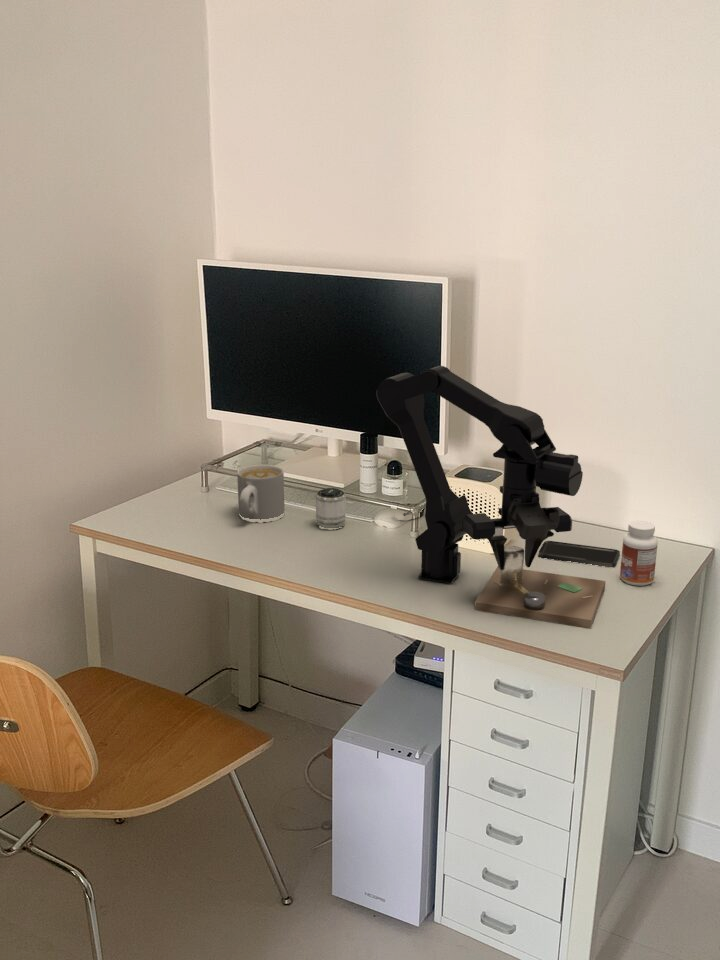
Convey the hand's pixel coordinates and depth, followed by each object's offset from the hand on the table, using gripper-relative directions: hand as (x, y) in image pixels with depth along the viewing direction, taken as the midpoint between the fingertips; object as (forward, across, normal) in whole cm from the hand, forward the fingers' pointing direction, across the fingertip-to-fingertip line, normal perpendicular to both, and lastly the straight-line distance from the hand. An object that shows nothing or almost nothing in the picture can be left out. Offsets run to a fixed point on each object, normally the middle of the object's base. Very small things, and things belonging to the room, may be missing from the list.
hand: (514, 567), depth 182 cm
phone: (+6, +20, +14) cm, 25 cm away
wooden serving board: (+5, +4, -2) cm, 7 cm away
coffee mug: (+6, -37, +52) cm, 64 cm away
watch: (+6, -5, +44) cm, 44 cm away
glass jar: (+6, -23, +43) cm, 49 cm away
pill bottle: (+5, +25, 0) cm, 26 cm away
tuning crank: (+4, 0, -3) cm, 5 cm away
